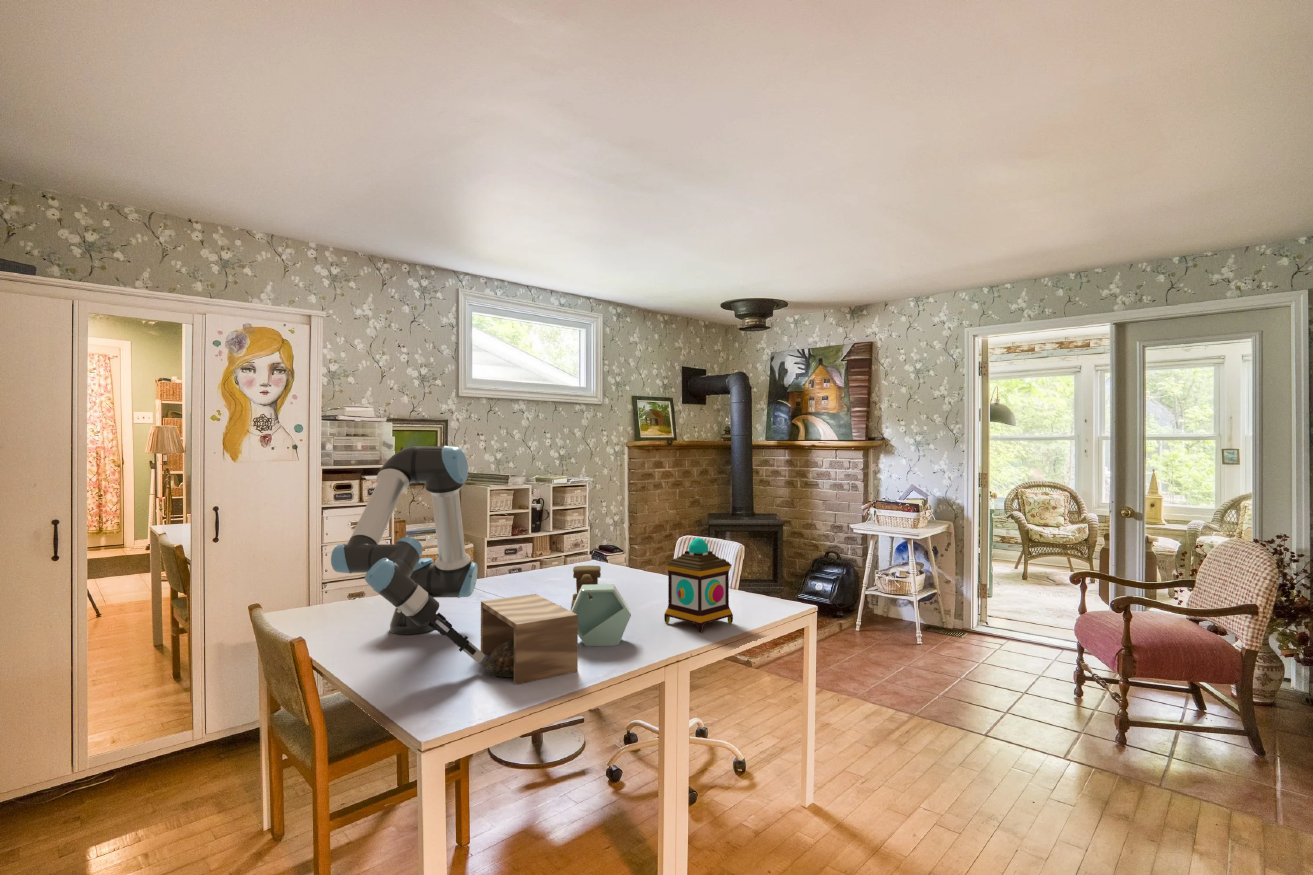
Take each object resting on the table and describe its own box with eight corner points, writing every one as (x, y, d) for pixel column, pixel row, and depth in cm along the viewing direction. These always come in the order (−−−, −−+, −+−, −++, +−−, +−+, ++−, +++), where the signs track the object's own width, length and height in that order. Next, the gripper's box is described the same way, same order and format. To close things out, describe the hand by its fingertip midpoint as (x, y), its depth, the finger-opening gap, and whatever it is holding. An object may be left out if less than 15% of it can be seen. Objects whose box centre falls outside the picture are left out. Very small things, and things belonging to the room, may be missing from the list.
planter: (595, 660, 194) (558, 605, 194) (595, 652, 202) (560, 599, 201) (640, 629, 196) (604, 574, 195) (639, 622, 203) (604, 569, 203)
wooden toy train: (572, 609, 240) (572, 565, 240) (602, 608, 241) (602, 564, 241) (569, 623, 220) (569, 575, 220) (602, 622, 221) (602, 575, 221)
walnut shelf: (480, 653, 188) (480, 601, 188) (535, 643, 197) (535, 593, 197) (516, 684, 162) (516, 624, 163) (577, 671, 172) (577, 614, 172)
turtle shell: (469, 659, 165) (499, 624, 184) (473, 690, 167) (501, 652, 186) (528, 661, 163) (552, 625, 182) (531, 692, 164) (554, 654, 184)
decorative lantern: (658, 623, 220) (658, 537, 221) (696, 613, 234) (696, 532, 234) (700, 635, 205) (700, 543, 206) (738, 623, 219) (738, 537, 220)
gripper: (402, 612, 168) (464, 663, 176) (413, 622, 157) (479, 677, 165) (423, 589, 171) (483, 641, 179) (435, 598, 160) (498, 653, 168)
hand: (481, 658), depth 172 cm, fingers closed
